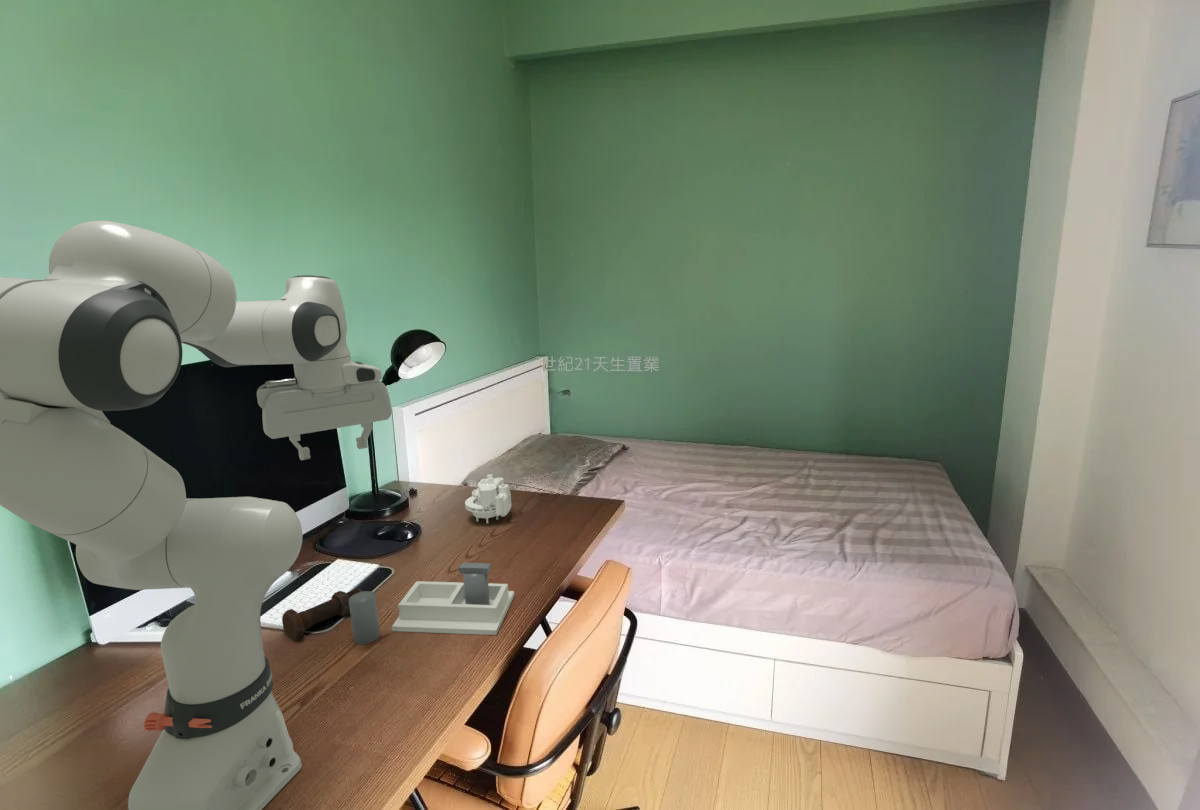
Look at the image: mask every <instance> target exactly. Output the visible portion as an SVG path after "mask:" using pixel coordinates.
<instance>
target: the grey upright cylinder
mask: <svg viewBox="0 0 1200 810" xmlns="http://www.w3.org/2000/svg"><path fill="white" fill-rule="evenodd" d="M362 591H363V590H362ZM377 606H378V605H377V595H376V593H375V592H374V591H369V590H367V591H366V590H364V591H363V592H359V593H356V594H354V595H352V596H351V597H350V598H349V607H350V613H349V614H350V621H351V628H352V630H351V631H352V637H353V641H354V643H355V644H358V645H366V644H370V643H374V642H375V641H377V640H378V639H379V638H380V636H381V631H380V624H379V623H380V621H379V613H378V607H377Z"/></svg>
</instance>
